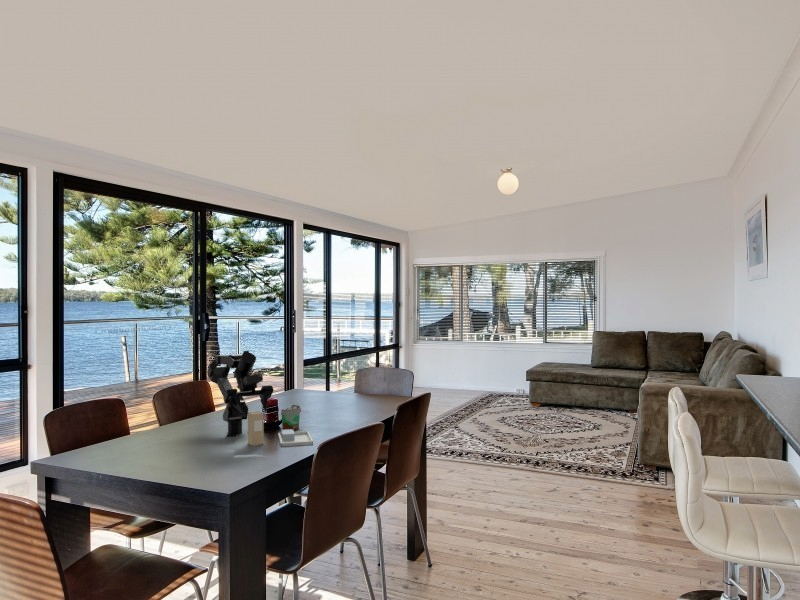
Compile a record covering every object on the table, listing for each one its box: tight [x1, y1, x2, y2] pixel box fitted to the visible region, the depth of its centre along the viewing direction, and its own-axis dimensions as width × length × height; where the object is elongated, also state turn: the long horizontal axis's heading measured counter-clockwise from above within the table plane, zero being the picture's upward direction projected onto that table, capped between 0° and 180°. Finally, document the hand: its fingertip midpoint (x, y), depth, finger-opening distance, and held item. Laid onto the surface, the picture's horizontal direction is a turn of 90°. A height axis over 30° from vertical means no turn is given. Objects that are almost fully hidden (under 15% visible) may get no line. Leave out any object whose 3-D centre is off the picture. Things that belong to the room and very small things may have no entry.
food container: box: [280, 404, 302, 431], centre depth 243 cm, size 12×6×10 cm, turn 168°
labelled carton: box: [247, 410, 265, 447], centre depth 218 cm, size 5×4×12 cm
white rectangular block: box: [281, 429, 295, 441], centre depth 226 cm, size 8×4×2 cm, turn 15°
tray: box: [277, 430, 314, 448], centre depth 224 cm, size 18×12×2 cm, turn 15°
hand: (254, 411), depth 219 cm, fingers open, 9 cm apart
